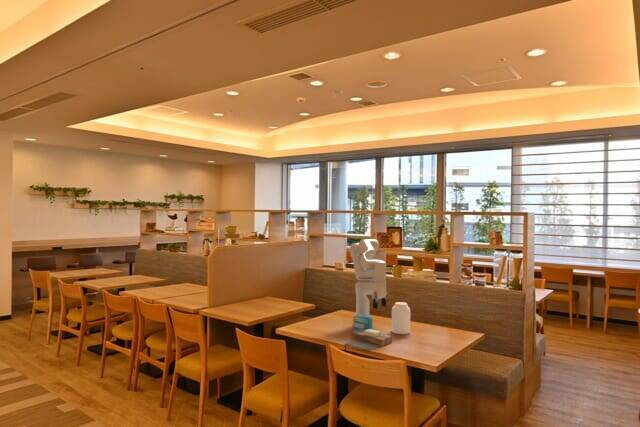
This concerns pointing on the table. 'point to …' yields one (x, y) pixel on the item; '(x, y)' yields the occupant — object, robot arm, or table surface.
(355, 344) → the mat
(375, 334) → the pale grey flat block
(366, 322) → the data package
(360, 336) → the block
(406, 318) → the can
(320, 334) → the table surface
